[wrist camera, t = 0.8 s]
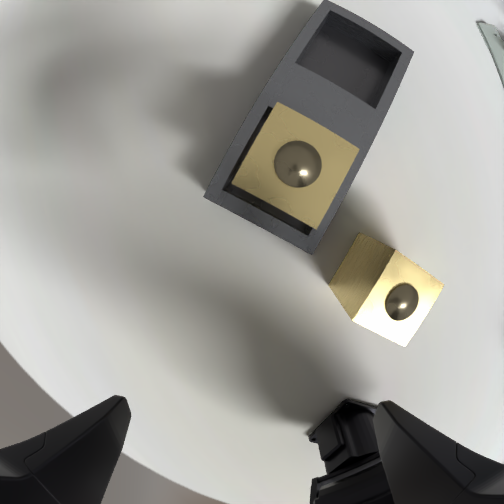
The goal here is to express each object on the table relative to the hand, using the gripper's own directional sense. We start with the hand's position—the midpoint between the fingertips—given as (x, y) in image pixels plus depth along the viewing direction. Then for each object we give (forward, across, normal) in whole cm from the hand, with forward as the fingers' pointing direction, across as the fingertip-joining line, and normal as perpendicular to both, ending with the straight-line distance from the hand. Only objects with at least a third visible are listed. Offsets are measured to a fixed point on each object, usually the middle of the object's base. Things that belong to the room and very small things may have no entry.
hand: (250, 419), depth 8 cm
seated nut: (+12, -2, -9) cm, 15 cm away
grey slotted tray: (+12, -4, -13) cm, 18 cm away
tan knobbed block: (+13, -8, -2) cm, 15 cm away
